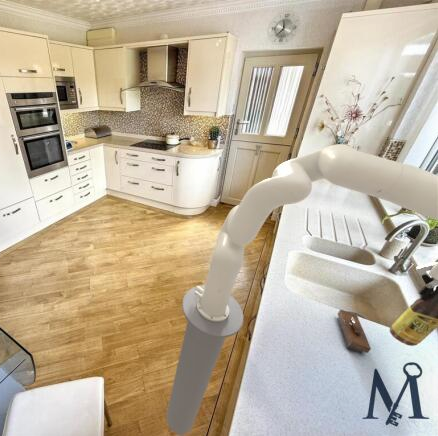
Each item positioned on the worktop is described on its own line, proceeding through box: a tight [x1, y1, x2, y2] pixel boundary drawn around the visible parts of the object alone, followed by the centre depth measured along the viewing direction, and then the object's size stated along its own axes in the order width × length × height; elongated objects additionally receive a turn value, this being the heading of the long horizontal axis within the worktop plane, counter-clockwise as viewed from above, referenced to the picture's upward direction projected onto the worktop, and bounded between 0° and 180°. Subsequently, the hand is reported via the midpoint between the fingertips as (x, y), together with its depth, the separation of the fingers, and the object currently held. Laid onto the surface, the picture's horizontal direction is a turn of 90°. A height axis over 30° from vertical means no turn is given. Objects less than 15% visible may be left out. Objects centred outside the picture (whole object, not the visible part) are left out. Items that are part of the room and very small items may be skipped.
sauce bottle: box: [389, 285, 438, 347], centre depth 64 cm, size 7×6×20 cm
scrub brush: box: [336, 309, 372, 354], centre depth 80 cm, size 14×5×6 cm, turn 157°
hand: (435, 302), depth 61 cm, fingers closed on sauce bottle, 4 cm apart
